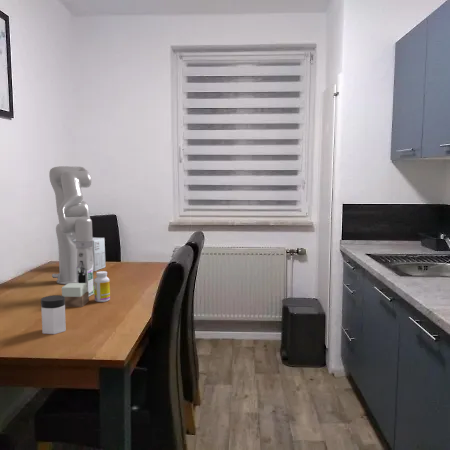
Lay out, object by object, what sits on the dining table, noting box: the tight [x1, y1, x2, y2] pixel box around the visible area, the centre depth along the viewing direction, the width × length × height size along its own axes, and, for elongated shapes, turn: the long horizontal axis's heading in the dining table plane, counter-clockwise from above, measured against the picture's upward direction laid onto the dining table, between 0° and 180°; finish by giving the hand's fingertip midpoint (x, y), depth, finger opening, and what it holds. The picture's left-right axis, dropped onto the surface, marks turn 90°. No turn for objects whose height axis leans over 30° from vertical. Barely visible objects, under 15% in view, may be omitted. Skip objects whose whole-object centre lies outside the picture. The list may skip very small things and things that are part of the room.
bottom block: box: [65, 292, 90, 308], centre depth 200 cm, size 9×9×4 cm
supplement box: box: [72, 237, 106, 272], centre depth 272 cm, size 17×13×18 cm
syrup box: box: [76, 265, 95, 297], centre depth 213 cm, size 6×6×14 cm
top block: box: [61, 283, 87, 297], centre depth 199 cm, size 8×8×4 cm
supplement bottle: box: [94, 270, 111, 303], centre depth 205 cm, size 7×7×13 cm
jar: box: [40, 294, 67, 335], centre depth 166 cm, size 9×8×12 cm
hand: (85, 281), depth 213 cm, fingers open, 9 cm apart
